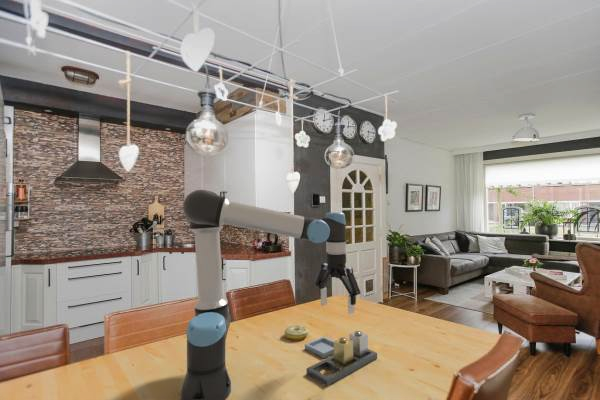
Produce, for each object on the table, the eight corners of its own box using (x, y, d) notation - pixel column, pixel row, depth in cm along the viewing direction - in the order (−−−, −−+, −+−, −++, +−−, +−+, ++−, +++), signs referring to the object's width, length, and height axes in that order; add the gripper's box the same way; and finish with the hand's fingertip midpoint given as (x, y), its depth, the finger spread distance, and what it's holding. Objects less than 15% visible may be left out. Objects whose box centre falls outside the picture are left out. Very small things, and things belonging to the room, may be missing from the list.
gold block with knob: (344, 371, 110) (344, 343, 110) (333, 365, 114) (333, 338, 114) (353, 366, 114) (353, 339, 114) (342, 361, 117) (342, 335, 118)
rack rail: (327, 386, 101) (327, 380, 101) (306, 374, 108) (306, 368, 108) (377, 358, 119) (377, 352, 119) (356, 349, 127) (356, 344, 127)
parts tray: (324, 358, 119) (324, 353, 119) (304, 348, 127) (304, 344, 127) (342, 349, 126) (342, 344, 127) (323, 341, 135) (323, 336, 135)
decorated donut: (312, 334, 142) (312, 326, 142) (300, 343, 133) (300, 334, 133) (292, 330, 147) (292, 322, 147) (280, 338, 138) (280, 330, 138)
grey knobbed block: (360, 362, 116) (359, 336, 116) (349, 357, 120) (349, 332, 120) (367, 358, 120) (367, 332, 120) (357, 353, 123) (357, 328, 124)
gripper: (369, 255, 111) (370, 314, 111) (319, 248, 130) (319, 299, 129) (356, 257, 106) (358, 319, 106) (306, 250, 124) (307, 303, 124)
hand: (337, 308), depth 117 cm, fingers open, 13 cm apart
